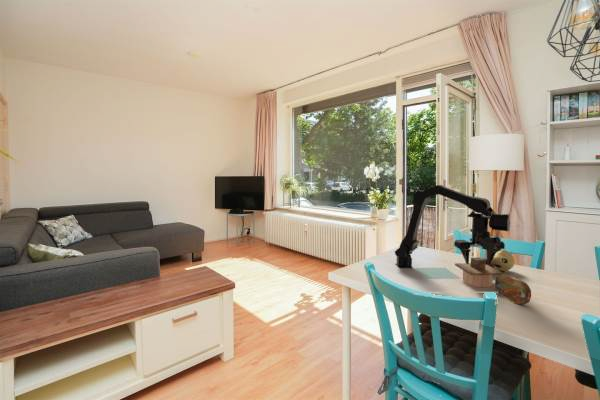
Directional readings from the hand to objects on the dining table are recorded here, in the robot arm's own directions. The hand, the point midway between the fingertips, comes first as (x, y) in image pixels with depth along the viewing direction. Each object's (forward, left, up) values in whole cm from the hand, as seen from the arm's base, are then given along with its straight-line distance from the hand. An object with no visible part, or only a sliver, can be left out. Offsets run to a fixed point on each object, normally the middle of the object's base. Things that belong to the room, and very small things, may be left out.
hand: (477, 263), depth 132 cm
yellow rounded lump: (+20, +15, -9) cm, 27 cm away
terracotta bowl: (0, 0, -9) cm, 9 cm away
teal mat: (-12, +12, -9) cm, 19 cm away
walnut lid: (0, 0, -3) cm, 3 cm away
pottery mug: (+10, +13, -9) cm, 19 cm away
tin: (+4, -16, -9) cm, 19 cm away
